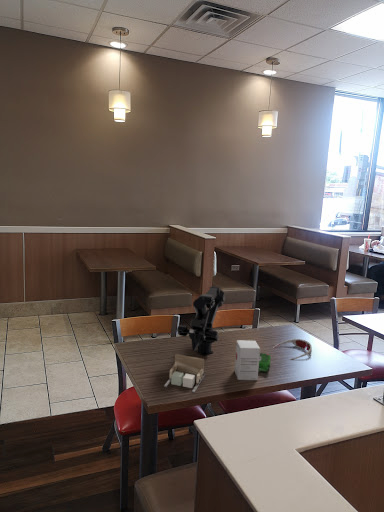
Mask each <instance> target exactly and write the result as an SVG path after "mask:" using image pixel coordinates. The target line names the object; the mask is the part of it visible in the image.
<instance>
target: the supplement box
mask: <svg viewBox="0 0 384 512" xmlns="http://www.w3.org/2000/svg"><path fill="white" fill-rule="evenodd" d="M235 344H236V345H235V359H234V360H235V361H234V373H235V376H236V378H237V380H238V381H258V378H259V376H258V375H259V371H258V368H259V357H260V353H261V347H260V346H259V344H258V343H257V341H256V340H245V339H242V340H241V339H239V340H236V343H235Z"/></svg>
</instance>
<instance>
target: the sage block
mask: <svg viewBox="0 0 384 512" xmlns="http://www.w3.org/2000/svg"><path fill="white" fill-rule="evenodd" d="M184 376H185V373H184V372H174V373H173V374H172V379H171V382H170V383H171V384H170V385H174V386H178V387H181V386H182V385H183V377H184Z"/></svg>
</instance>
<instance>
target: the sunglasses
mask: <svg viewBox="0 0 384 512" xmlns="http://www.w3.org/2000/svg"><path fill="white" fill-rule="evenodd" d="M284 344H292V345H294V346H295V347H296V348H300V349H302V350H305V349H306V352H305V353H303V354H301V355H299V356H296V357H292V358H289V360H290V361H291V360H292V361H293V360H297V359H299V358H302V357H306V356H308V355H309V356H311V355H312V351H313V349H312V348H313V347H312V344H311V342H310V341H307V340H306V339H299V338H292V339H288V340H285V341H282V342H279V343H278V344H276V345H274V346H273V348H272V349H275V348H277V347H279V346H280V345H284Z"/></svg>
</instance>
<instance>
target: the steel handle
mask: <svg viewBox="0 0 384 512" xmlns="http://www.w3.org/2000/svg"><path fill="white" fill-rule="evenodd" d="M177 372H179V371H177ZM188 374H190V373H188ZM193 375H195V374H193ZM195 376H196V375H195ZM204 378H205V373H204V376H203V377H202V378H201V380H200V382H199V383H196V384H194V385H195V386H193V388H192V391H191V393H196V391H197V389H198V387H199V386H200V384H201V382H202V381H203V379H204ZM171 379H172V378H170V377H169V379H168V380H167V381H166V383H165V384H164V385H163V387H165V388H167V387H168V386H169V384H170V383H171Z"/></svg>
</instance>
